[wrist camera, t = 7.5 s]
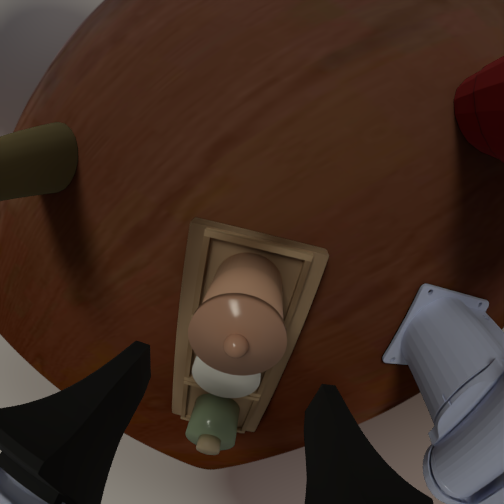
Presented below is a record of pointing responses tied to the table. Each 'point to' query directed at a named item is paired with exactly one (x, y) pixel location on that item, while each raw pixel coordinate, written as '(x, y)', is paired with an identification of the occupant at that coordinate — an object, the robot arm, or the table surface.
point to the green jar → (213, 423)
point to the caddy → (198, 282)
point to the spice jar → (241, 317)
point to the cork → (37, 161)
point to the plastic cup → (483, 109)
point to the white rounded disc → (223, 381)
